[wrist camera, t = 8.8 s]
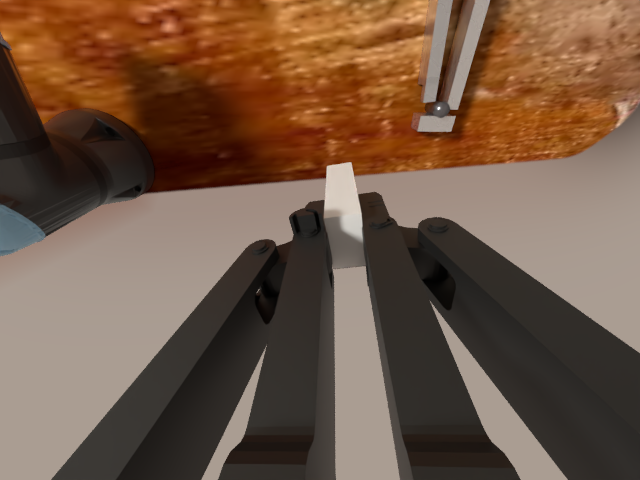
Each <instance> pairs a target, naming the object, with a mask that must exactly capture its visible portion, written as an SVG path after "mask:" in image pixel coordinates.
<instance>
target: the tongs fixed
mask: <svg viewBox="0 0 640 480" xmlns="http://www.w3.org/2000/svg"><path fill="white" fill-rule="evenodd" d="M489 3H490V0H463V3H462V7H461V11H460V15H459V19H458V23H457V27H456V31H455V35H454V39H453V43H452V48H451V52H450V56H449V60H448V64H447V68H446V72H445V76H444V80H443V84H442V88H441V92H440V96H439V100H438V101H437V100H436V101H435V102H427V104H426V106H425V111H426V112H427V113H414V114H413V119H412V124H411V128H413V129H414V130H416V131H422V132H451V131H452V128H453V124H454V121H455V117H456V116H454V115H451V114H448V113H449V111H450V110H458V107H459V104H460V101H461V97H462V94H463V90H464V87H465V84H466V80H467V77H468V74H469V70H470V67H471V63H472V60H473V57H474V53H475V50H476V47H477V43H478V40H479V36H480V33H481V30H482V26H483V23H484V20H485V16H486V13H487V9H488V6H489Z"/></svg>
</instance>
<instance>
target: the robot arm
mask: <svg viewBox="0 0 640 480" xmlns="http://www.w3.org/2000/svg"><path fill="white" fill-rule="evenodd" d="M10 50H12V49H11V47H10V45H9V44H8V43H7V42H6V41H5V40H4V39H3V37H2V35H1V33H0V256H4V255H8V254H11V253H14V252H16V251H18V250H20V249H23V248H25V247H27V246H29V245H31V244H33V243H35V242H39V241H41V240H43V239H44V238H45V237H46V236H48V235H50V234H51V233H53V232H55V231H57V230H58V229H60V228H62V227H63V226H65V225H67V224H69V223H70V222H72V221H74V220H76V219H78V218H79V217H81V216H83V215H85V214H86V213H88V212H90V211H92V210H93V209H95V208H97V207H98V206H100V205H104V204H110V203H116V202H121V201H128V200H132V199H134V198H137V197H139V196H140V195H142V194H144V193H145V192H147V191H148V190H149V189H150V187H151V186H152V184H153V181H154V166H153V162H152V159H151V157H150V154H149V152H148V150H147V149H146V147H145V146H144V144H143V143H142V141H141V140H140V139H139V138H138V136H137V135H136V134H135V133H134V132H133V131H132V130H131V129H130V128H128V127H127V126H126V125H125V124H123V123H122V122H121V121H119V120H118V119H116V118H114V117H113V116H111V115H109V114H106V113H104V112H101V111H98V110H94V109H75V110H68V111H64V112H62V113H59V114H58V115H56V116H55V117H53V118H52V119H51V120H49V121H48V122H46V123H45V124H44V125H43V124H42V122H41V119H40V117H39V115H38V113H37V110H36V108H35V106H34V104H33V101H32V99H31V97H30V95H29V92H28V90H27V88H26V86H25V83H24V81H23V79H22V77H21V74H20V72H19V70H18V68H17V66H16V63H15V61H14V59H13V57H12V54H11V52H10ZM289 220H290V223H291V227H292V230H293V234H294V236H293V240H292V241H290V242H288V243H286V244H282V245H279V246H276V244H275V242H274V241H273V240H269V239H265V240H259V241H256V242H254V243H252V244H251V245H249V246H248V247H247V248H246V249H245V250H244V251H243V253H242V254H241V255H240V256H239V257H238V258H237V260H236V261H235V262H234V263H233V264H232V266H231V267H230V268H229V269H228V271H227V272H226V273H225V274H224V275H223V277H222V278H221V279H220V280H219V281H218V282H217V283H216V285H215V286H214V287H213V288H212V290H211V291H210V292H209V293H208V294H207V295H206V296H205V298H204V299H203V300H202V301H201V303H200V304H199V305H198V306H197V307H196V309H195V310H194V311H193V312H192V313H191V314H190V316H189V317H188V318H187V319H186V320H185V321H184V323H183V324H182V325H181V326H180V327H179V329H178V330H177V331H176V332H175V333H174V335H173V336H172V337H171V338H170V339H169V340H168V342H167V343H166V344H165V345H164V346H163V348H162V349H161V350H160V351H159V352H158V354H157V355H156V356H155V357H154V358H153V359H152V361H151V362H150V363H149V364H148V365H147V367H146V368H145V369H144V370H143V371H142V373H141V374H140V375H139V376H138V378H136V380H135V381H134V382H133V383H132V385H131V386H130V387H129V388H128V389H127V390H126V392H125V393H124V394H123V395H122V396H121V398H120V399H119V400H118V401H117V402H116V403H115V405H114V406H113V407H112V408H111V409H110V411H109V412H108V413H107V414H106V415H105V417H104V418H103V419H102V420H101V421H100V422H99V424H98V425H97V426H96V427H95V429H94V430H93V431H92V432H91V433H90V434H89V435H88V437H87V438H86V439H85V440H84V441H83V443H82V444H81V445H80V446H79V447H78V449H77V450H76V451H75V452H74V453H73V454H72V456H71V457H70V458H69V459H68V460H67V462H66V463H65V464H64V465H63V466H62V468H61V469H60V470H59V471H58V472H57V473H56V475H55V476H54V477H53V478H52V480H201V479H202V477H203V475H204V473H205V471H206V469H207V466H208V465H209V463H210V460H211V458H212V456H213V454H214V452H215V450H216V448H217V446H218V444H219V442H220V440H221V438H222V436H223V434H224V432H225V429H226V427H227V425H228V423H229V421H230V419H231V417H232V415H233V413H234V411H235V409H236V407H237V405H238V403H239V401H240V399H241V397H242V395H243V392H244V390H245V388H246V386H247V384H248V382H249V380H250V378H251V376H252V374H253V372H254V370H255V367H256V366H257V364H258V362H259V359H260V357H261V355H262V353H263V351H264V349H265V347H266V345H267V347H266V351H265V355H264V359H263V363H262V367H261V371H260V376H259V380H258V384H257V388H256V392H255V396H254V400H253V404H252V409H251V413H250V417H249V421H248V425H247V429H246V432H245V435H244V437H243V439H242V441H241V442H240V443H239V444H238V445H237V446H236V447H235V448H234V449H233V450H232V451H231V452H230V453H229V455H228V457H227V459H226V461H225V463H224V465H223V467H222V470H221V473H220V476H219V479H218V480H336V476H335V475H336V474H335V375H334V374H335V367H334V366H335V364H334V363H335V361H334V360H335V359H334V275H333V270H332V264H333V269H340V268H348V267H349V268H350V267H359V266H366V272H367V282H368V286H369V291H370V297H371V303H372V310H373V316H374V322H375V327H376V334H377V340H378V346H379V352H380V359H381V365H382V371H383V377H384V383H385V389H386V395H387V401H388V408H389V413H390V420H391V426H392V431H393V438H394V444H395V450H396V456H397V462H398V469H399V475H400V480H520V478H519V476H518V474H517V472H516V470H515V468H514V467H513V465H512V464H511V463H510V461H509V459H508V458H507V457H506V455H505V454H504V453H503V452H502V451H501V450H500V449H499V448H498V447H497V446H496V445H494V444H493V443H492V442H491V440H490V439H489V437H488V436H487V434H486V432H485V430H484V428H483V426H482V424H481V421H480V419H479V417H478V415H477V412H476V409H475V407H474V405H473V402H472V400H471V398H470V395H469V393H468V390H467V388H466V386H465V383H464V381H463V379H462V376H461V374H460V372H459V370H458V367H457V364H456V362H455V360H454V357H453V355H452V353H451V350H450V348H449V345H448V343H447V341H446V338H445V336H444V334H443V331H442V329H441V327H440V324H439V322H438V320H437V317H436V315H435V312H434V310H433V308H432V305H431V303H430V301H431V302H432V304H433V305H434V306H435V308H436V309H437V310H438V312H439V313H440V314H441V315H442V317H443V318H444V319H445V321H446V322H447V323H448V325H449V326H450V327H451V328H452V330H453V331H454V332H455V334H456V335H457V336H458V338H459V339H460V340H461V342H462V343H463V344H464V345H465V347H466V348H467V349H468V350H469V352H470V353H471V354H472V356H473V357H474V358H475V359H476V361H477V362H478V364H479V365H480V366H481V367H482V369H483V370H484V371H485V373H486V374H487V375H488V376H489V378H490V379H491V380H492V382H493V383H494V384H495V386H496V387H497V388H498V389H499V391H500V392H501V393H502V395H503V396H504V397H505V399H506V400H507V401H508V403H510V405H511V406H512V408H513V409H514V410H515V412H516V413H517V414H518V415H519V417H520V418H521V419H522V421H523V422H524V423H525V424H526V426H527V427H528V428H529V430H530V431H531V432H532V434H533V435H534V436H535V438H536V439H537V440H538V441H539V443H540V444H541V445H542V447H543V448H544V449H545V451H546V452H547V453H548V454H549V456H550V457H551V458H552V460H553V461H554V462H555V464H556V465H557V466H558V467H559V469H560V470H561V471H562V473H563V474H564V475H565V476H566V478H567V479H568V480H640V353H639V352H637V351H636V350H634V349H633V348H632V347H630V346H629V345H627V344H625V343H624V342H623V341H621V340H620V339H618V338H617V337H616V336H615V335H613V334H612V333H610V332H609V331H608V330H606V329H605V328H603V327H602V326H600V325H599V324H598V323H596V322H595V321H593V320H592V319H591V318H589V317H588V316H586V315H585V314H584V313H582V312H581V311H579V310H578V309H576V308H575V307H573V306H572V305H571V304H569V303H568V302H566V301H565V300H564V299H562V298H561V297H560V296H558V295H557V294H555V293H554V292H552V291H551V290H550V289H548V288H547V287H545V286H544V285H543V284H541V283H540V282H538V281H537V280H535V279H534V278H533V277H531V276H530V275H529V274H527V273H525V272H524V271H523V270H521V269H520V268H519V267H517V266H516V265H514V264H513V263H512V262H510V261H509V260H507V259H506V258H505V257H503V256H502V255H500V254H499V253H497V252H496V251H495V250H493V249H492V248H490V247H489V246H488V245H486V244H485V243H483V242H482V241H481V240H479V239H478V238H476V237H475V236H473V235H472V234H471V233H469V232H468V231H466V230H465V229H464V228H462V227H461V226H459V225H458V224H457V223H455V222H453V221H451V220H449V219H445V218H440V217H438V218H437V217H434V218H427V219H425V220H422V221H421V222H420V223H419V226H418V228H406V227H402V226H398V225H397V222H396V221H395V220H394V219H393V218H391V217H390V216H389V214H388V212H387V209H386V206H385V204H384V201H383V199H382V196H381V195H380V194H378V193H376V192H371V193H364V194H357V189H356V184H355V179H354V174H353V169H352V164H351V162H349V163H343V164H337V165H331V166H327V176H326V191H325V200H321V201H313V202H309V203H308V204H307V205H306V207H305V208H303V209H300V210H298V211H295V212H294V213H292V214H291V215H290V217H289ZM258 289H260V290H259V291H258ZM257 291H258V293H257ZM256 293H257V294H256ZM429 300H430V301H429Z"/></svg>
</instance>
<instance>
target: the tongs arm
mask: <svg viewBox="0 0 640 480" xmlns="http://www.w3.org/2000/svg"><path fill="white" fill-rule="evenodd" d="M452 2H453V0H429V3H428V10H427V18H426V26H425V33H424V41H423V49H422V56H421V64H420V72H419V79H418V84H420V85H423V87H422V94H421V102H422V103H425V102H435V101H436V95H437V89H438V83H439V78H440V72H441V66H442V60H443V54H444V48H445V43H446V37H447V31H448V25H449V19H450V14H451V8H452Z"/></svg>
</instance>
